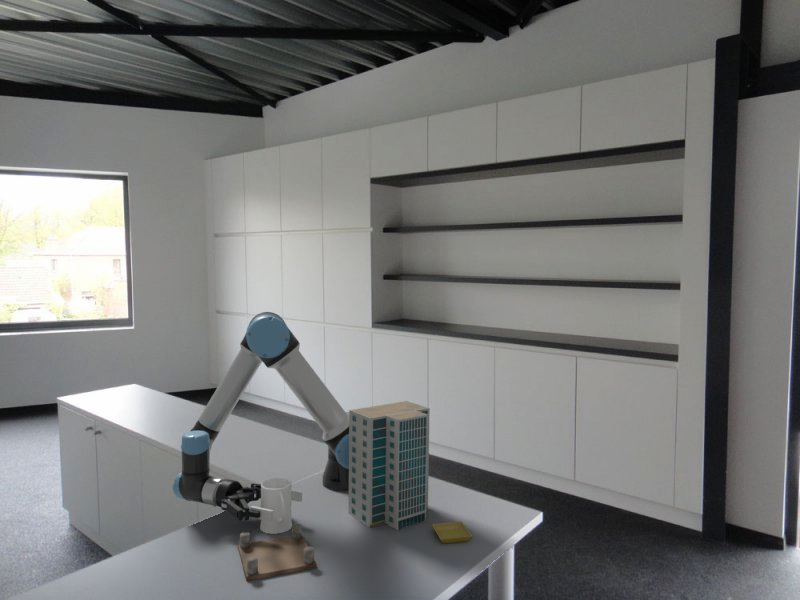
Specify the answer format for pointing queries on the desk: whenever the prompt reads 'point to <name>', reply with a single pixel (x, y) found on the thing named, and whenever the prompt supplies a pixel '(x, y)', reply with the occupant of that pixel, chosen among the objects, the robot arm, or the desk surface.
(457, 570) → the desk surface
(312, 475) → the desk surface
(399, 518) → the building model
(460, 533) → the yellow square slab
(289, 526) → the mug
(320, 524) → the desk surface
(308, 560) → the board with corner pegs
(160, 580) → the desk surface
